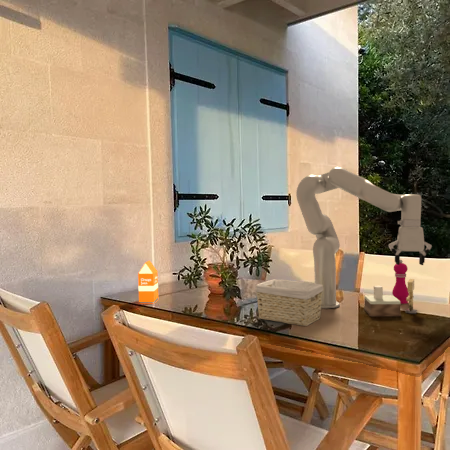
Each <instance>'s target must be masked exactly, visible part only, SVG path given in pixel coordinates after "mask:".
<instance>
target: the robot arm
mask: <svg viewBox="0 0 450 450" xmlns="http://www.w3.org/2000/svg"><path fill="white" fill-rule="evenodd" d="M336 189H340V190H343V191H344V192H347V193H348V194H350V195H353V196H354V197H356V198H358V199H360V200H362V201H365V202H367V203H369V204H371V205H373V206H374V207H377V208H379V209H380V210H383V211H385V212H389V213H392V212H397V211H398V212H399V211H401V217H400V218H401V219H400V220H397V225H400V226H399V227H398V231H397V232H398V233H397V239H396V240H395V241H392V242H391V243H389V244H388V248H389V249H390V251H391V252H392V253H393V254H394V263H395V264H397V265H399V264H400V260H401V257H400V253H401V252H419V256H418V257H419V259H418V263H419V265H421V266H424V264H425V263H426V262H425V261H426V258H425V257H426V255H427V254H428V253H429V252H430V250H431V249H432V247H433V246H432V244H430V243H428V242H426V241H425V238H424V237H425V235H424V228H423V227H421V218H422V215H421V214H422V196H421V194H418V193H417V194H416V193H415V194H413V193H412V194H411V193H410V194H398V193H397V194H396V193H392V192H389V191H388V190H386V189H383V188H381V187H378V186H377V185H375V184H373V183H372V182H371V181H370V180H368V179H366V178H365V177H363V176H360V175H357V174H356V173H353V172H351V171H350V170H348V169H347V168H344V167H339V166H336V167H333V168H332V169H330V170H329V172H324V173H322V174H319V175H315V174H309V175H307V176H304V178H302V179H301V181H299V183H298V185H297V188H296V191H295V194H296V200H297V203H298V206H299V209H300V212H301V215H302V218H303V219H304V223H305V225H306V229H307V230H308V232H309V233H310V234H311V235H314V236H315V237H316V240H315V241H314V243H313V246H312V254H313V256H312V257H313V265H314V266H313V269H314V283H315V284H320V285H321V284H322V285H323V291H322V300H321V301H322V304H321V309H337V308H339V307H340V305H341V304H340V302H338V301H337V269H336V268H337V267H336V257H335V256H336V255H335V254H336V253H338V252H339V250H340V246H341V245H340V240H339V237H338V235H337V232H336V230H335V228H334V224H333V222H332V219H331V218H330V217H329V216H328V215H326V214H324V213H323V212H322V210H321V206H320V204H319V202H318V200H317V198H316V194H317V195H319V194H322V193H327V192H329V191H333V190H336ZM394 246H396V249H395V248H394ZM425 246H426V248H425Z"/></svg>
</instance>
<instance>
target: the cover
mask: <svg viewBox="0 0 450 450" xmlns="http://www.w3.org/2000/svg"><path fill="white" fill-rule="evenodd" d="M383 291H384V287H383V286H382V285H374V286H373V294H368V295H367V294H365V295H364V298H365V299H366V300H367V301H368V302H369V303H370V304H400V301H399V300H398V299H397V298H396V297H394V296H393V294H392V295H391V294H383V293H384V292H383ZM400 305H401V304H400Z"/></svg>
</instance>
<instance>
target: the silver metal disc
mask: <svg viewBox="0 0 450 450" xmlns="http://www.w3.org/2000/svg"><path fill="white" fill-rule="evenodd" d="M417 312H418V311H417V309H414V308H413V310H409V308H407V309H405V313H406V314H409V315H416V314H417Z"/></svg>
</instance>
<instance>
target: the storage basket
mask: <svg viewBox="0 0 450 450" xmlns="http://www.w3.org/2000/svg"><path fill="white" fill-rule="evenodd" d="M254 291H255V292H256V300H257V310H258V311H257V312H258V318H259V319H261V320H266V321H273V322H278V323H279V322H280V323H283V324H287V325H297V326H304V327H307V326H309V325H311V324H313V323H315V322H316V321H319V320H320V318H321V313H322V311H321V310H322V308H321V304H322V301H321V300H322V291H323V285H322V284H321V285H320V284H315V282H306V281H296V280H287V279H275V278H273V279H271V280H270V279H269V280H267V281H263V282H260V283H258V284H256V285H255V290H254Z"/></svg>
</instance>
